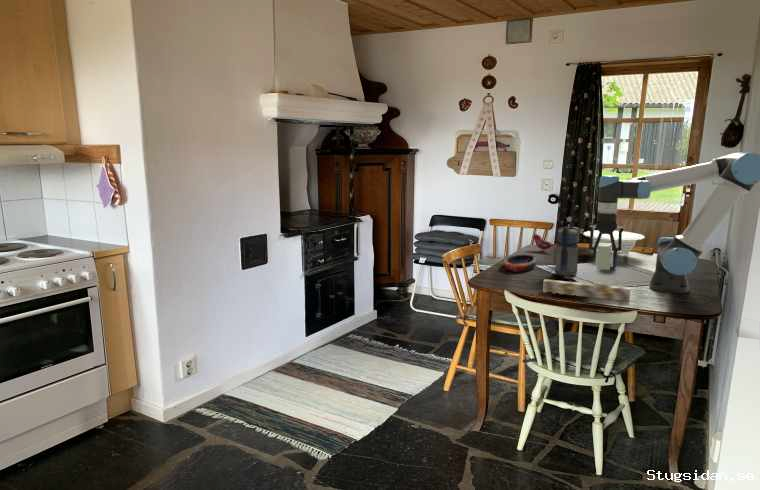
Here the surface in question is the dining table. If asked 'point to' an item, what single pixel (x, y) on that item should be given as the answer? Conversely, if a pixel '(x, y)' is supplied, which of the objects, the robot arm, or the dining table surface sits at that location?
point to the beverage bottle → (567, 251)
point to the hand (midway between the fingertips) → (603, 265)
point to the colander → (627, 239)
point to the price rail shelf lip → (587, 290)
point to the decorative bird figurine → (542, 243)
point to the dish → (519, 262)
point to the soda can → (614, 261)
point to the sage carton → (604, 256)
